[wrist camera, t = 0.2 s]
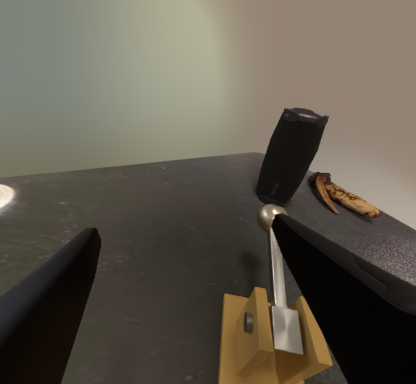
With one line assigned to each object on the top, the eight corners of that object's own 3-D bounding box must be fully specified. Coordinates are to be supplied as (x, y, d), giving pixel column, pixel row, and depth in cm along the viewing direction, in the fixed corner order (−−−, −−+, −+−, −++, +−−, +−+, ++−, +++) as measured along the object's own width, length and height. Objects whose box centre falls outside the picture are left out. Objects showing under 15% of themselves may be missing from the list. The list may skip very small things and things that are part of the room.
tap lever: (253, 212, 25) (261, 195, 22) (279, 216, 25) (291, 201, 22) (253, 346, 16) (267, 346, 13) (295, 355, 15) (318, 358, 13)
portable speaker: (265, 183, 49) (294, 105, 38) (297, 201, 44) (341, 117, 33) (245, 192, 44) (272, 106, 33) (279, 214, 39) (323, 119, 28)
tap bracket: (223, 297, 23) (238, 256, 18) (285, 310, 23) (317, 271, 18) (215, 421, 15) (238, 407, 10) (311, 443, 15) (384, 441, 10)
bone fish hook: (291, 185, 51) (356, 229, 38) (297, 170, 48) (369, 213, 35) (314, 180, 54) (380, 219, 41) (321, 166, 52) (394, 203, 39)
